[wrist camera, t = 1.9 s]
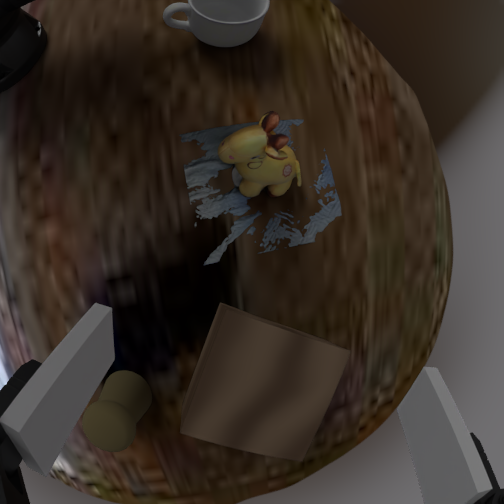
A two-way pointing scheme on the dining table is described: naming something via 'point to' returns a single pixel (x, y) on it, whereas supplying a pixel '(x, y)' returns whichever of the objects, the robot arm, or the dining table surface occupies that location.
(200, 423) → the walnut block
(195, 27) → the teacup
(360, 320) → the dining table surface
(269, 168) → the stuffed giraffe
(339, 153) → the dining table surface
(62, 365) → the robot arm
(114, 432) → the cork
